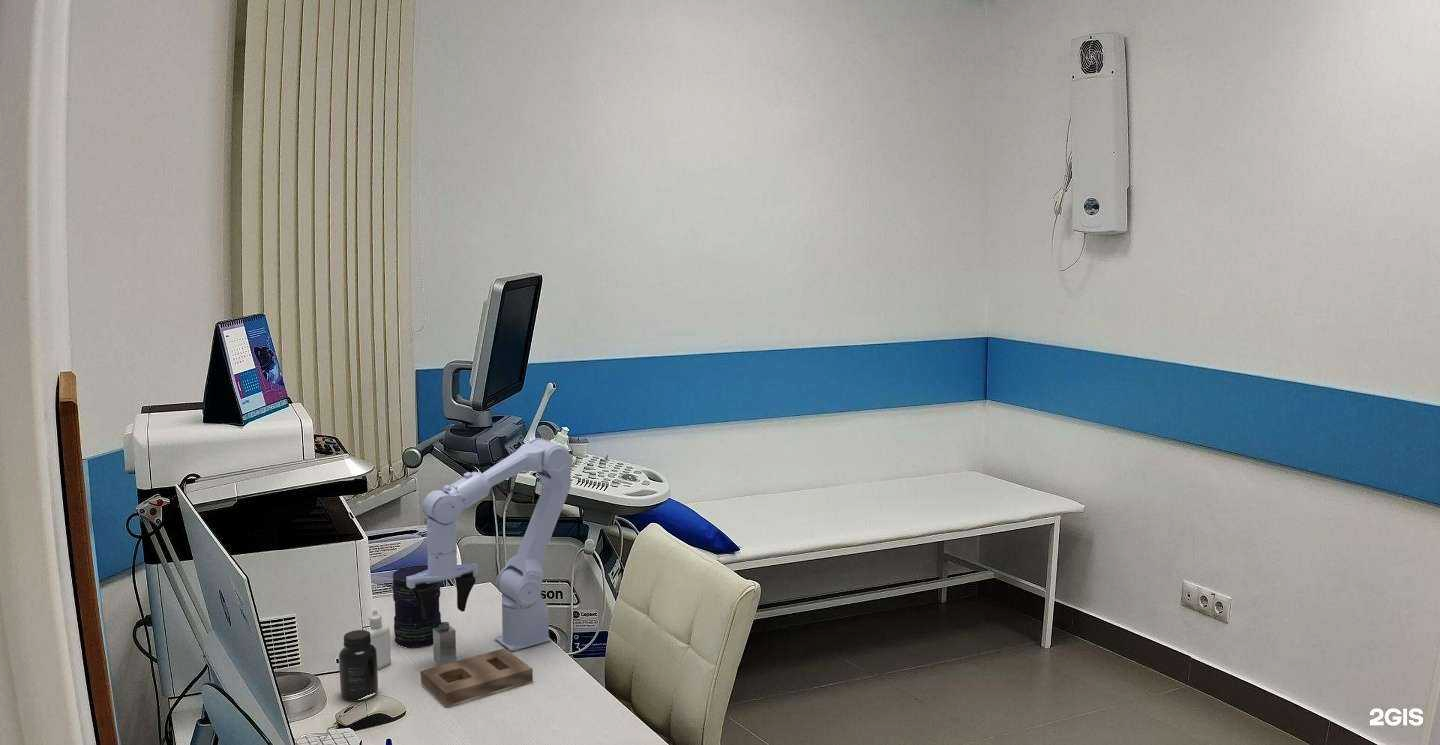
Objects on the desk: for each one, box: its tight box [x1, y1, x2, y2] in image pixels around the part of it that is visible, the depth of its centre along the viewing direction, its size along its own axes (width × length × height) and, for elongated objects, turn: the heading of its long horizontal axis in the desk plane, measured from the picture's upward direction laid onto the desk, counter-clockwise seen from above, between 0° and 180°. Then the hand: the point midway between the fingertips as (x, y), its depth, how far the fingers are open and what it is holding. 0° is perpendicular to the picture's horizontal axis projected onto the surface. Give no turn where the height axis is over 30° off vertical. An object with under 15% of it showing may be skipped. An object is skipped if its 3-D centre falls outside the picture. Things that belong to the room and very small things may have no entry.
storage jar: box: [392, 564, 442, 649], centre depth 222 cm, size 10×10×15 cm
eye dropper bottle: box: [368, 608, 392, 671], centre depth 209 cm, size 4×6×12 cm
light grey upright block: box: [432, 621, 457, 666], centre depth 212 cm, size 3×3×8 cm
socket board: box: [420, 647, 534, 709], centre depth 203 cm, size 18×12×3 cm, turn 128°
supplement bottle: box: [338, 629, 379, 702], centre depth 197 cm, size 7×7×12 cm
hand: (443, 614), depth 211 cm, fingers open, 7 cm apart
